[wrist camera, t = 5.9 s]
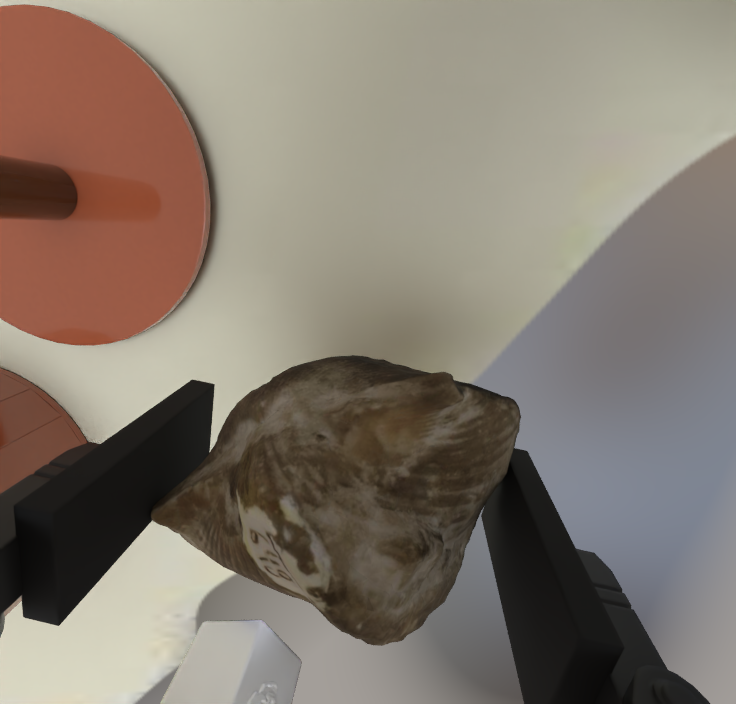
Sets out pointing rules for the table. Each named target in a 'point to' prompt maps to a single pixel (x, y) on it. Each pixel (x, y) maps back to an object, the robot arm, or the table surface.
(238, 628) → the jar
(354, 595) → the fossilized seashell
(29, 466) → the pot
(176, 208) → the lid
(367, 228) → the table surface
